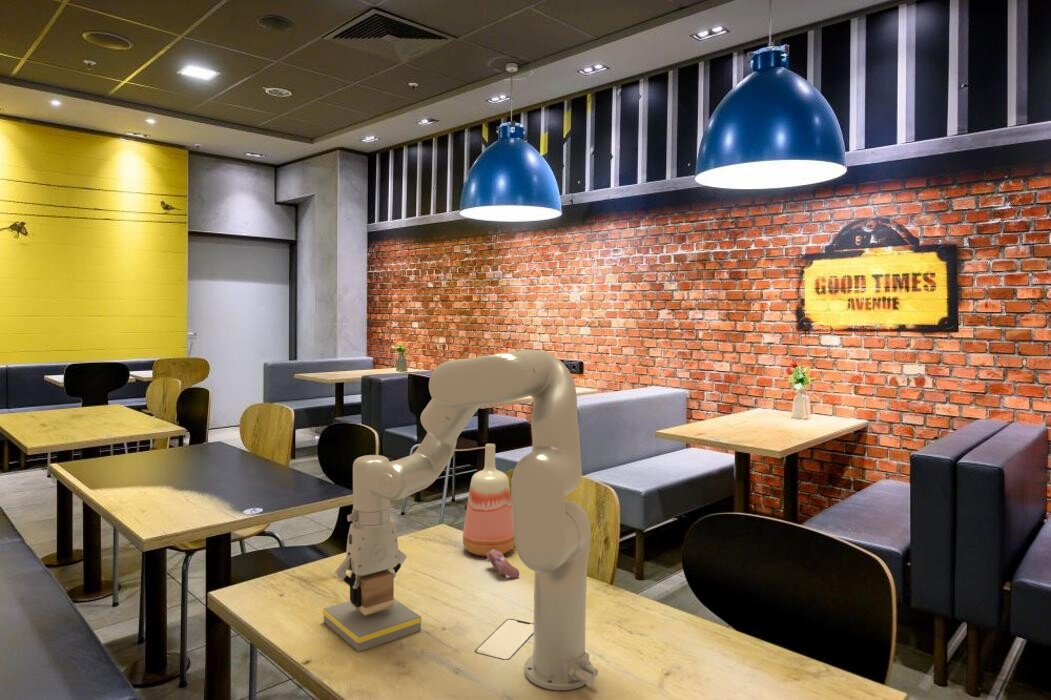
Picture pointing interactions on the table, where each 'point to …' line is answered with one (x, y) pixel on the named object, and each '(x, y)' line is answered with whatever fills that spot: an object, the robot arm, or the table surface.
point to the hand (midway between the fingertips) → (372, 599)
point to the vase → (489, 510)
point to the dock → (371, 624)
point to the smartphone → (507, 639)
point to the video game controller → (501, 564)
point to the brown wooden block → (376, 592)
